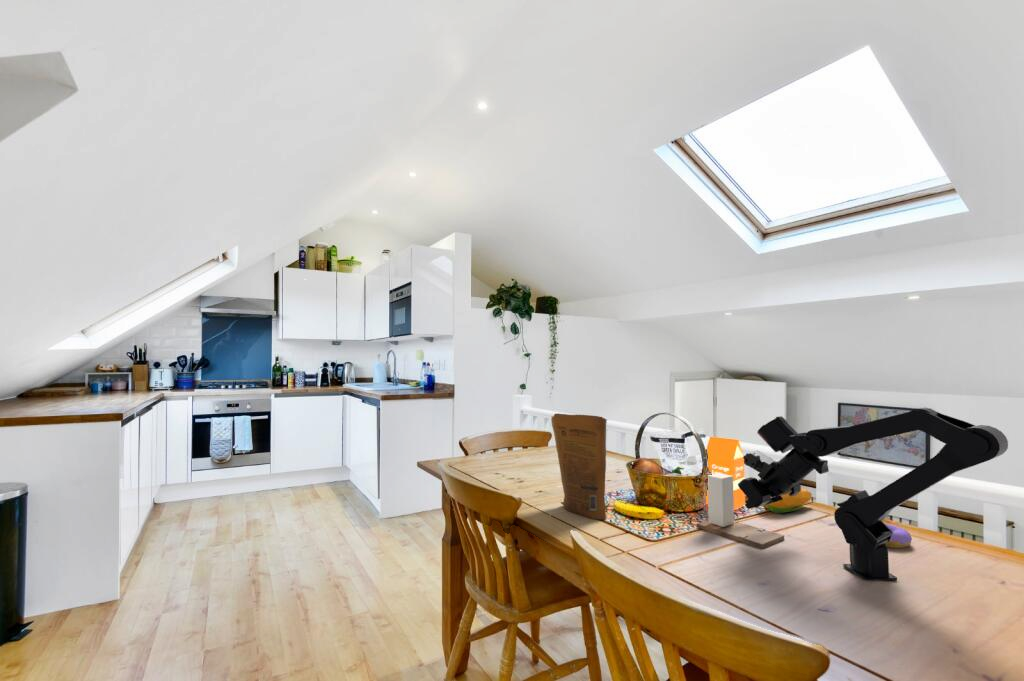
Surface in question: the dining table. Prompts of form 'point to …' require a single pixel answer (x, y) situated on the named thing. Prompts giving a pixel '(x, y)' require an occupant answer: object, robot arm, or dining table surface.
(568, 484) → the pancake mix bag
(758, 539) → the brown flat wooden board
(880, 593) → the dining table surface
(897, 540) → the donut
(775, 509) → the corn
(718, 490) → the white tall block
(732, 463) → the orange juice
